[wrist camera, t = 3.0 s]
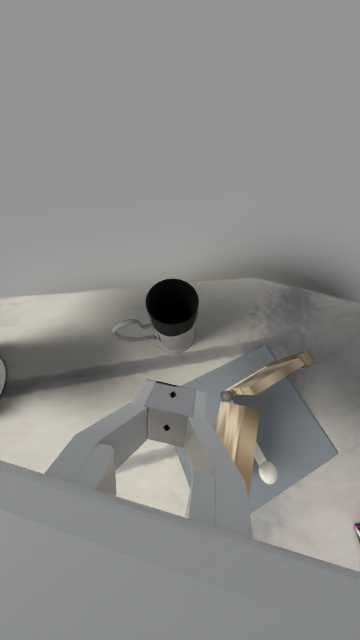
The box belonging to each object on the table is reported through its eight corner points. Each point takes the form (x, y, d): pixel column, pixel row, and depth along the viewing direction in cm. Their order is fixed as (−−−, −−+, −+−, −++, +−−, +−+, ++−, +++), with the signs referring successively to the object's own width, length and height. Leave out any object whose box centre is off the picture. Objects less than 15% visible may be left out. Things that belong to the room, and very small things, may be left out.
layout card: (209, 538, 25) (209, 541, 25) (157, 398, 33) (156, 398, 32) (336, 453, 30) (338, 454, 29) (264, 345, 37) (265, 344, 37)
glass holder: (201, 344, 37) (214, 315, 23) (138, 370, 35) (111, 356, 21) (184, 310, 40) (187, 268, 26) (126, 333, 38) (96, 299, 24)
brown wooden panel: (219, 400, 32) (244, 405, 20) (228, 403, 32) (260, 411, 19) (202, 482, 27) (221, 557, 15) (212, 486, 27) (241, 566, 15)
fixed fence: (223, 402, 32) (243, 406, 22) (218, 393, 33) (236, 393, 23) (276, 370, 35) (316, 361, 25) (271, 362, 35) (307, 350, 25)
